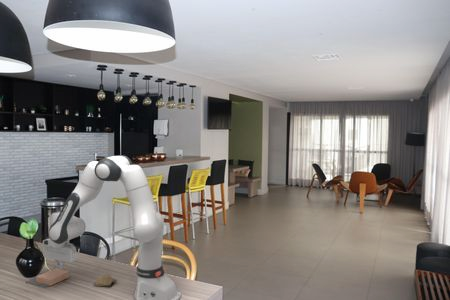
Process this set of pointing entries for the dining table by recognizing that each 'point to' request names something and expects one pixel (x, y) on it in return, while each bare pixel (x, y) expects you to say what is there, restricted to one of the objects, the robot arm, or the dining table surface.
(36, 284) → the mat
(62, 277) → the tile
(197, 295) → the dining table surface
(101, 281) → the pottery shard
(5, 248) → the dining table surface
